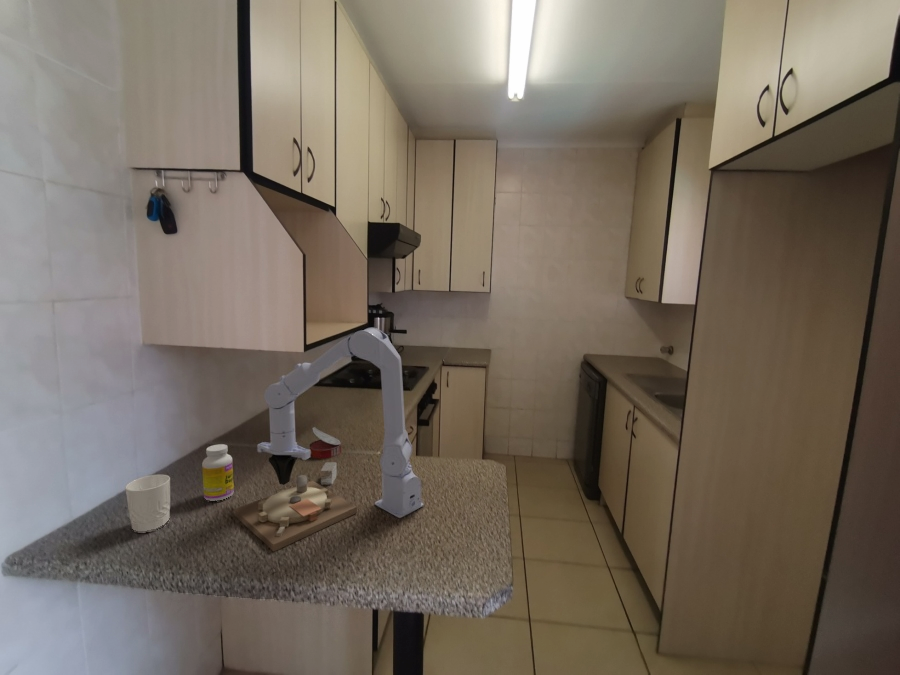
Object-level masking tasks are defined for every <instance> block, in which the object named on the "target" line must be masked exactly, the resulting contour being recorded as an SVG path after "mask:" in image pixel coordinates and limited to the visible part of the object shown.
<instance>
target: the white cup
mask: <svg viewBox="0 0 900 675" xmlns="http://www.w3.org/2000/svg"><path fill="white" fill-rule="evenodd" d="M124 489H125V494H126V501H127V509H128V514H129V515H128V516H129V519H130V526H131V530H132V529H133V530H136V531H147V530H151V529H156V528H158V527H160V526H162V525H164V524H165V523H166V522H167V521H168V520H169V518H170V517H171V514H170V510H171V477H170V476H169V475H167V474H151V475H146V476H142V477H139V478H137V479H134V480H132V481H130V482H128V483H127V484H126V485H125V488H124ZM170 519H171V518H170ZM169 521H170V520H169ZM133 530H132V531H133Z"/></svg>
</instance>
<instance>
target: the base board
mask: <svg viewBox="0 0 900 675" xmlns="http://www.w3.org/2000/svg"><path fill="white" fill-rule="evenodd" d="M307 485H309V487H313V488H317V489H320V490H321V489H323V488H325V487H324V486H323V485H321V484H320V483H317V482H316V481H314V480H310V481H307ZM292 488H297V485H296V486H294V487H292ZM272 495H273V494H272ZM272 495H271V494H270V495H269V496H265V497H263V498H260V499H257V500H255V501H252V502H250V503H249V502H248V503H247V504H245V505H241V506H239V507H235V508H233V516H234V517H235V518H236V519H237V520H239V521H240V522H241V523H242V524H243V525H244V526H245V527H246V528H247V529H248V530H250V531H251V532H252V534H254V535H255V536H256V537H257V538H258V539H260V540H261V542H263V543H264V545H265V546H267V547H268V548H269V549H270V550H271V551H272V552H277V551H278V550H281V549H283V548H284V547H287V546H289V545H291V544H293V543H296V542H298V541H300V540H302V539H304V538H306V537H308V536H310V535H312V534H315V533H316V532H318V531H321V530H323V529H325V528H328V527H330V526H332V525H334V524H337V523H338V522H340V521H343V520H345V519H347V518H348V517H349V518H350V517H351V516H353V515H355V514H357V513H358V507H357V506H356V505H355V504H354V503H352V502H350V501H348V500H346V499H344V498H343V497H341V496H340V495H338V494H336V493H334V492H332V491H331V490H329V496H327V499H332V506H331V508H325V509H324V510H323V511H322V512H321V513H320V514H318V515H317V519H316V520H314V521H309V520H305V521H302V522H297V523H291V524H289V525H288V527H280V524H279V523H273V522H270V521H268V520H267V521H265V522H263V523H262V522H261V521H260V520H259V513H261V512H263V510H259V509H258V503H259V502H260V501H261V500H267V499H268V498H269V497H271V496H272Z"/></svg>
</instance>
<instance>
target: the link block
mask: <svg viewBox="0 0 900 675" xmlns="http://www.w3.org/2000/svg"><path fill="white" fill-rule="evenodd" d="M337 467H338V466H337V462H336V461H333V462H332V461H330V462H327V461H326V462H325V463H324V464H323V466H322V468H321V469H320V485H321V486H323V485H328V486H329V485H333V484H334V482H335V480H336V478H337V475H338V474H337V472H338V471H337Z"/></svg>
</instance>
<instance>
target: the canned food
mask: <svg viewBox="0 0 900 675" xmlns="http://www.w3.org/2000/svg"><path fill="white" fill-rule="evenodd" d="M312 432H313V433H314V434H313V435H315V437H317V438H318V440H314V441H313V442H311V443H310V444H309V445H308V446H309V450H310V458H313V459H319V460H321V459H322V460H323V459H331V458H335V457H338V456H339V455H341V454H342V442H341V441H340V440H339V439H338V438H337V437H334V436H333V435H329V434H328V433H325V432H323V431H322V430H319V429H318V428H316V427H315V426H314V427H312Z"/></svg>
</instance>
